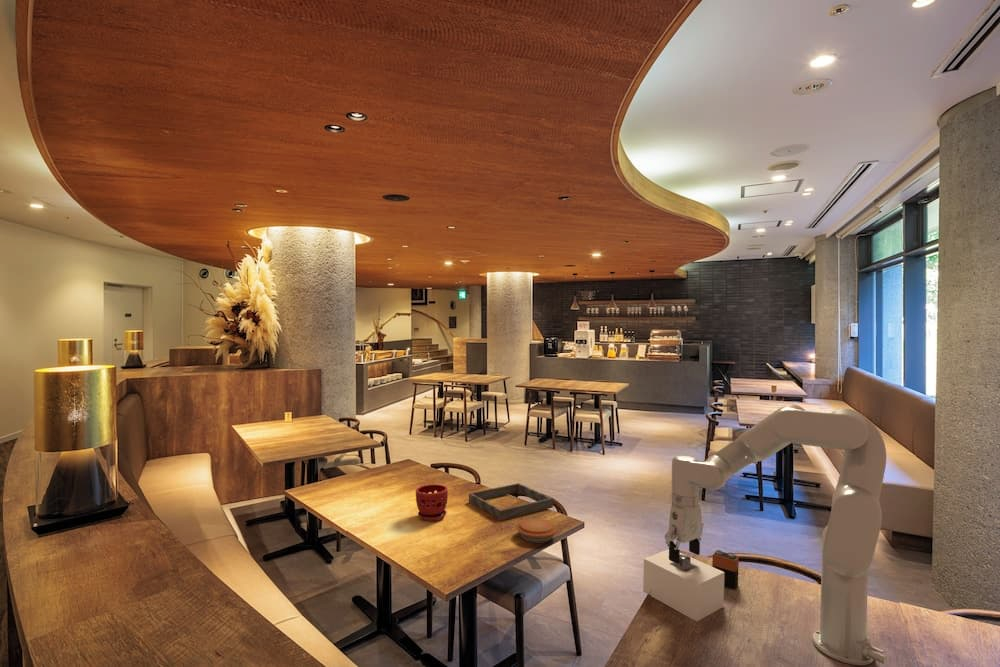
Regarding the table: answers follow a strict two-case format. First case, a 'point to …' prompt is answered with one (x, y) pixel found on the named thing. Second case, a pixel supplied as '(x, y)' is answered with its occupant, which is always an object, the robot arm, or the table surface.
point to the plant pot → (431, 502)
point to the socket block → (684, 585)
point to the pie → (536, 530)
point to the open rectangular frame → (540, 504)
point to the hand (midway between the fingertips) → (684, 557)
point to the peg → (684, 563)
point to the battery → (727, 567)
